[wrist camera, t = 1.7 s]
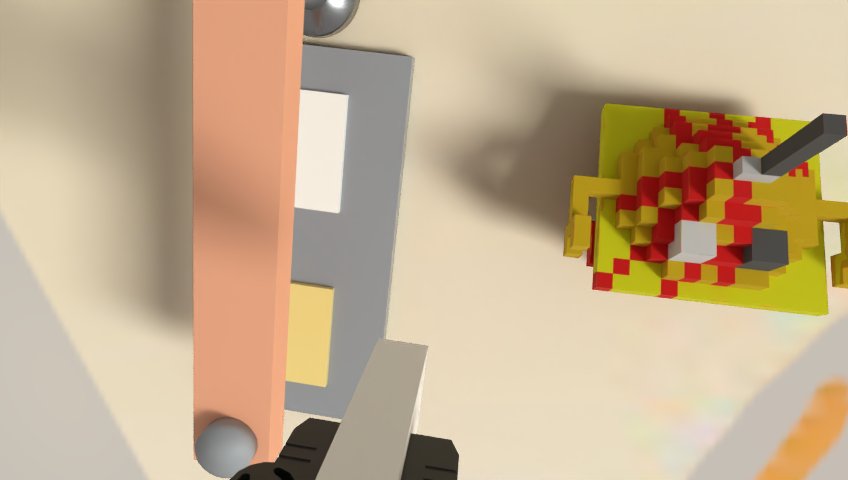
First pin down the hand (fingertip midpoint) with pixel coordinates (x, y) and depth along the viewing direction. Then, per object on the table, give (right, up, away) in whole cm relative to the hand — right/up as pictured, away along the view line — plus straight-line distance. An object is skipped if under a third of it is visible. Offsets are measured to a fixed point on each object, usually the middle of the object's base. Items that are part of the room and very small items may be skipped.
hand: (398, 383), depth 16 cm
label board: (-7, +4, +19) cm, 20 cm away
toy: (+15, +7, +16) cm, 23 cm away
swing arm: (-7, +7, +16) cm, 19 cm away
